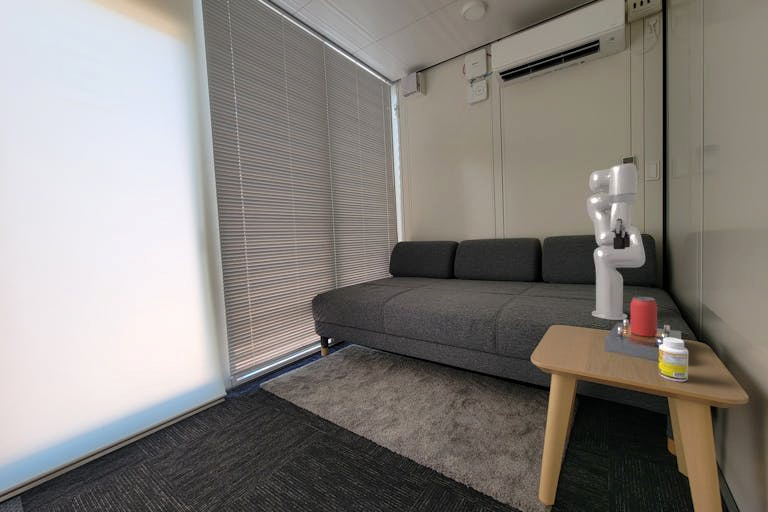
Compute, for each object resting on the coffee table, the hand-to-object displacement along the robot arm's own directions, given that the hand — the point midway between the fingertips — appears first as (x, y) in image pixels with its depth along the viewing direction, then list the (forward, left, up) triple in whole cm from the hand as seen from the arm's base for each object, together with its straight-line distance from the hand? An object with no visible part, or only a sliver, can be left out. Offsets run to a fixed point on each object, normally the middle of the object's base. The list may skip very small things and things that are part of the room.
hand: (621, 248), depth 107 cm
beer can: (+8, +7, -28) cm, 30 cm away
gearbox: (+6, +7, -32) cm, 34 cm away
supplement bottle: (+29, +15, -32) cm, 46 cm away
